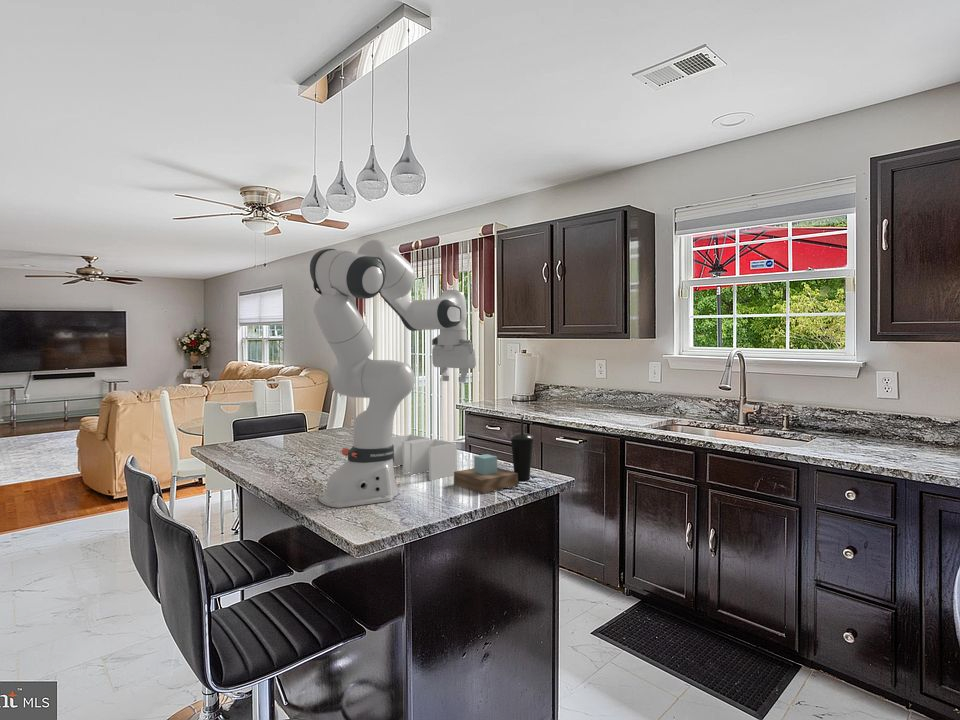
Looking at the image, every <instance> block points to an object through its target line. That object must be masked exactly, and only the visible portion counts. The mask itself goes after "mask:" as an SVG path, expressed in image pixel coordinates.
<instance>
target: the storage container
mask: <svg viewBox="0 0 960 720" xmlns="http://www.w3.org/2000/svg"><path fill="white" fill-rule="evenodd" d="M430 438H431V437H426V436H420V435H417V434H416V435H415V434H405V435H399V436H392V444H393V445H394V463H393V466H398V465H403V466H402V474H403V473H406V474H409V475H410V476H411V475H413V474H416V475H419V474H418V473H420V474H423V473H422V472H425V473H428V480H430V482H433V481H437V480H436V479H438V480H441V479H440V478H442V479H445V477H447V478H450V477H449V476H451V477H454V472H455V471H458V465H457V461H458V460H457V458H458V457H457V455H458V449H457V447H458V446H457V444H458V443H457V442H454V441H447V440H442V439H437V438H434V439H430ZM427 471H429V472H427ZM408 472H410V473H408ZM413 476H414V475H413ZM432 480H433V481H432Z"/></svg>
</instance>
